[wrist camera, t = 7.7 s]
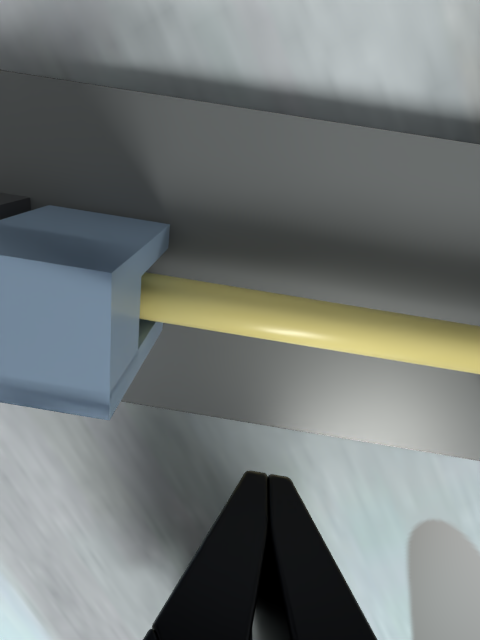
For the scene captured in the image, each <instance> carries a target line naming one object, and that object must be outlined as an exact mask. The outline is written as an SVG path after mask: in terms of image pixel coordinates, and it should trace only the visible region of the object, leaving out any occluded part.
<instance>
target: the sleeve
mask: <svg viewBox="0 0 480 640" xmlns="http://www.w3.org/2000/svg"><path fill="white" fill-rule="evenodd" d="M169 232H170V224H165V223H159V222H152V221H146V220H140V219H134V218H127V217H121V216H115V215H109V214H102V213H96V212H90V211H84V210H77V209H71V208H65V207H58V206H52V205H48V206H44V207H41V208H38V209H34V210H31V211H28V212H25V213H21V214H18V215H15V216H11V217H8V218H5V219H2V220H0V402H2V403H8V404H14V405H20V406H26V407H32V408H38V409H44V410H50V411H56V412H62V413H68V414H74V415H80V416H86V417H92V418H98V419H104V420H110V418H111V417H112V415H113V413H114V412H115V410H116V408H117V406H118V405H119V403H120V401H121V400H122V398H123V396H124V394H125V393H126V391H127V389H128V388H129V386H130V384H131V383H132V381H133V379H134V377H135V376H136V374H137V372H138V371H139V369H140V367H141V365H142V364H143V362H144V360H145V359H146V357H147V355H148V354H149V352H150V350H151V348H152V347H153V345H154V343H155V342H156V340H157V338H158V336H159V335H160V333H161V331H162V328H163V323H162V322H156V321H150V320H144V319H139V317H140V296H141V276H142V275H143V274H144V273H145V272H146V271H147V270H148V269H149V268H150V267H151V266H152V265H153V264H154V263H155V262H156V261H157V260H158V258H159V257H160V256H161V255H162V254H163V253H164V252H165V251H166V250H167V249H168V245H169Z"/></svg>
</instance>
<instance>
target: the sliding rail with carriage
mask: <svg viewBox="0 0 480 640" xmlns="http://www.w3.org/2000/svg"><path fill="white" fill-rule="evenodd" d="M48 205H52V206H58V207H65V208H71V209H77V210H84V211H90V212H96V213H102V214H109V215H115V216H121V217H127V218H134V219H140V220H146V221H152V222H159V223H165V224H170V232H169V245H168V249H167V250H166V251H165V252H164V253H163V254H162V255H161V256H160V257H159V258H158V260H157V261H156V262H155V263H154V264H153V265H152V266H151V267H150V268H149V269H148V270H147V271H146V272H145V273H144V274H143V275H142V276H141V296H140V317H139V319H144V320H150V321H156V322H162V323H163V328H162V331H161V333H160V335H159V336H158V338H157V340H156V342H155V343H154V345H153V347H152V348H151V350H150V352H149V354H148V355H147V357H146V359H145V360H144V362H143V364H142V365H141V367H140V369H139V371H138V372H137V374H136V376H135V377H134V379H133V381H132V383H131V384H130V386H129V388H128V389H127V391H126V393H125V394H124V396H123V398H122V400H121V401H122V402H128V403H134V404H140V405H146V406H152V407H158V408H164V409H170V410H176V411H182V412H188V413H194V414H200V415H206V416H212V417H218V418H224V419H230V420H236V421H242V422H248V423H254V424H260V425H266V426H272V427H278V428H284V429H290V430H296V431H302V432H308V433H314V434H320V435H326V436H332V437H338V438H344V439H350V440H356V441H362V442H368V443H374V444H380V445H386V446H392V447H398V448H404V449H410V450H417V451H423V452H429V453H435V454H441V455H447V456H453V457H459V458H465V459H471V460H477V461H480V145H479V144H473V143H467V142H460V141H454V140H447V139H441V138H434V137H428V136H421V135H415V134H409V133H402V132H396V131H389V130H383V129H376V128H370V127H363V126H357V125H351V124H344V123H338V122H331V121H325V120H318V119H312V118H305V117H299V116H293V115H286V114H280V113H273V112H267V111H260V110H254V109H247V108H241V107H235V106H228V105H222V104H215V103H209V102H202V101H196V100H190V99H183V98H177V97H170V96H164V95H157V94H151V93H144V92H138V91H132V90H125V89H119V88H112V87H106V86H99V85H93V84H86V83H80V82H74V81H67V80H61V79H54V78H48V77H41V76H35V75H28V74H22V73H16V72H9V71H3V70H0V220H2V219H5V218H8V217H11V216H15V215H18V214H21V213H25V212H28V211H31V210H34V209H38V208H41V207H44V206H48Z"/></svg>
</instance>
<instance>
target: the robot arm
mask: <svg viewBox="0 0 480 640" xmlns="http://www.w3.org/2000/svg"><path fill="white" fill-rule="evenodd" d="M143 640H377V638H376V636H375V635H374V633H373V631H372V629H371V627H370V625H369V623H368V622H367V620H366V618H365V616H364V614H363V612H362V610H361V609H360V607H359V605H358V603H357V601H356V599H355V597H354V596H353V594H352V592H351V590H350V588H349V586H348V585H347V583H346V581H345V579H344V577H343V575H342V573H341V572H340V570H339V568H338V566H337V564H336V562H335V560H334V559H333V557H332V555H331V553H330V551H329V549H328V547H327V546H326V544H325V542H324V540H323V538H322V536H321V535H320V533H319V531H318V529H317V527H316V525H315V523H314V522H313V520H312V518H311V516H310V514H309V512H308V510H307V509H306V507H305V505H304V503H303V501H302V499H301V497H300V496H299V494H298V492H297V490H296V488H295V486H294V484H293V483H292V481H291V479H290V478H288V477H284V476H278V475H272V474H271V475H269V476H268V477H267V475H266V474H265V473H261V472H255V471H246V472H245V473H244V475H243V477H242V478H241V480H240V482H239V483H238V485H237V487H236V488H235V490H234V491H233V493H232V495H231V496H230V498H229V500H228V501H227V503H226V505H225V506H224V508H223V510H222V511H221V513H220V514H219V516H218V518H217V519H216V521H215V523H214V524H213V526H212V528H211V529H210V531H209V533H208V534H207V536H206V538H205V539H204V541H203V542H202V544H201V546H200V547H199V549H198V551H197V552H196V554H195V556H194V557H193V559H192V561H191V562H190V564H189V566H188V567H187V569H186V570H185V572H184V574H183V575H182V577H181V579H180V580H179V582H178V584H177V585H176V587H175V589H174V590H173V592H172V593H171V595H170V597H169V598H168V600H167V602H166V603H165V605H164V607H163V608H162V610H161V612H160V613H159V615H158V617H157V618H156V620H155V621H154V623H153V625H152V629H150V630H149V631H148V632H147V634H146V636H145V637H144V639H143Z"/></svg>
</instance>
